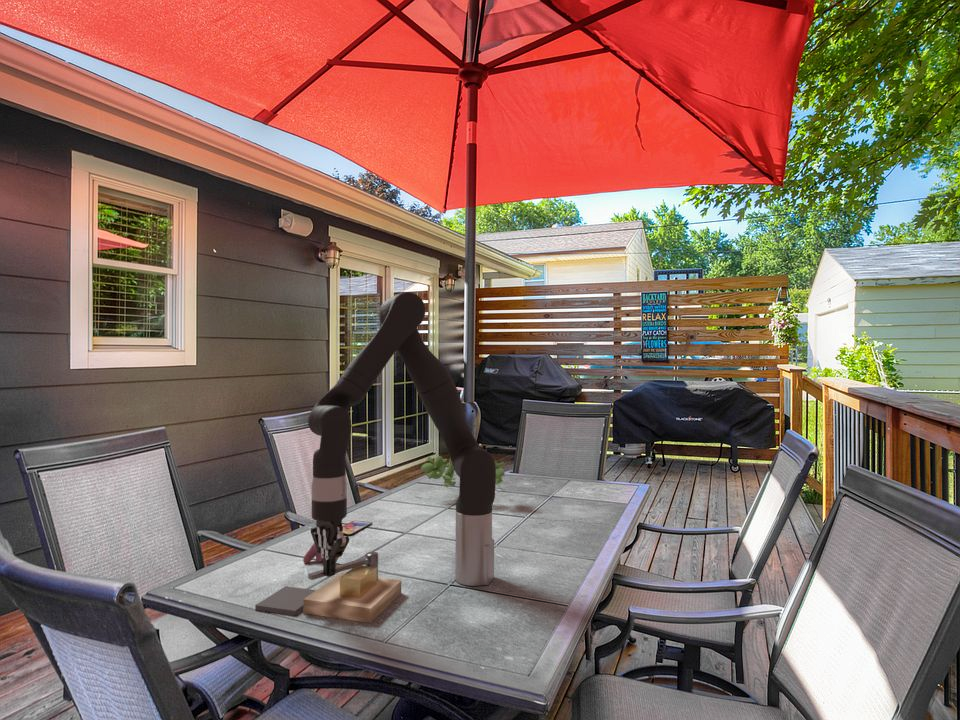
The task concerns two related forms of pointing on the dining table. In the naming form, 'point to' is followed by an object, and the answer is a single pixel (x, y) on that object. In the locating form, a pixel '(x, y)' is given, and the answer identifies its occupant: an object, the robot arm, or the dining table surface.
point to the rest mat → (285, 601)
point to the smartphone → (354, 527)
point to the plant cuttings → (452, 471)
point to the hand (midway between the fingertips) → (329, 575)
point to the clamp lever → (351, 565)
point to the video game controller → (313, 555)
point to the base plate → (352, 600)
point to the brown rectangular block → (358, 581)
